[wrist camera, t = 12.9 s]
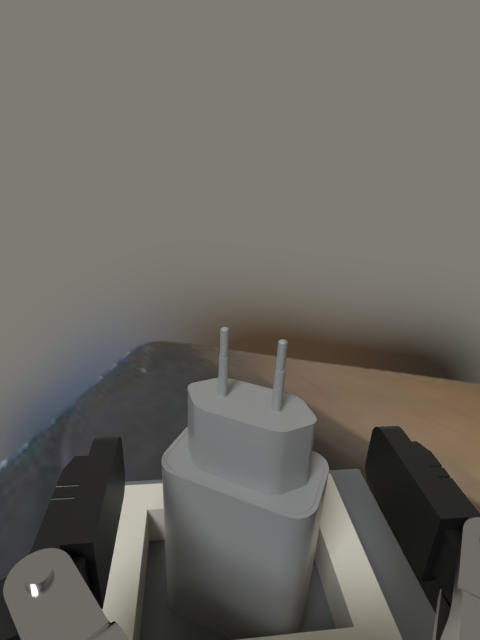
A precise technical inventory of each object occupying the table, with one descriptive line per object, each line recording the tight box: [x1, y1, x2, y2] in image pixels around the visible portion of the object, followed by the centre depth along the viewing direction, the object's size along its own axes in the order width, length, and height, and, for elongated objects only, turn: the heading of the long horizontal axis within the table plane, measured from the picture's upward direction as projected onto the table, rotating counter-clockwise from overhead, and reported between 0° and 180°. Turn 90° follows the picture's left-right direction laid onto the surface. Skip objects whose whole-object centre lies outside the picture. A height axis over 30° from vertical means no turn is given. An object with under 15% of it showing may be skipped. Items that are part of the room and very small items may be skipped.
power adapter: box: [162, 327, 329, 640], centre depth 14 cm, size 3×5×12 cm, turn 67°
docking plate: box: [102, 469, 436, 640], centre depth 16 cm, size 16×13×3 cm
